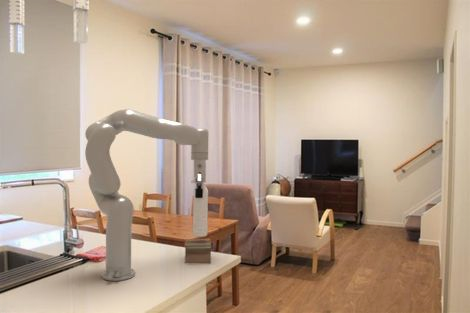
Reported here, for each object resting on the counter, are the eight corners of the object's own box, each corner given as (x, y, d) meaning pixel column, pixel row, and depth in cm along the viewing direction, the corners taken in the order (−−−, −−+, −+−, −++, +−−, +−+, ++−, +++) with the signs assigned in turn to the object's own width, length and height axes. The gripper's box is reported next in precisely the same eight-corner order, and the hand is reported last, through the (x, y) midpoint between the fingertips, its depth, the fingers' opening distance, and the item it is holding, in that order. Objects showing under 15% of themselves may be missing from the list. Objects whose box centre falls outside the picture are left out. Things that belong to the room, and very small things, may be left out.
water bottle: (200, 232, 177) (201, 178, 175) (210, 235, 172) (211, 180, 170) (185, 235, 170) (186, 180, 168) (195, 238, 166) (196, 181, 164)
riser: (210, 263, 167) (211, 245, 167) (184, 263, 166) (185, 245, 165) (209, 255, 178) (210, 238, 178) (185, 256, 177) (185, 238, 177)
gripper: (208, 157, 162) (207, 199, 163) (207, 155, 179) (206, 194, 180) (190, 157, 161) (190, 199, 162) (191, 155, 178) (190, 193, 179)
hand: (199, 196), depth 171 cm, fingers closed on water bottle, 6 cm apart
